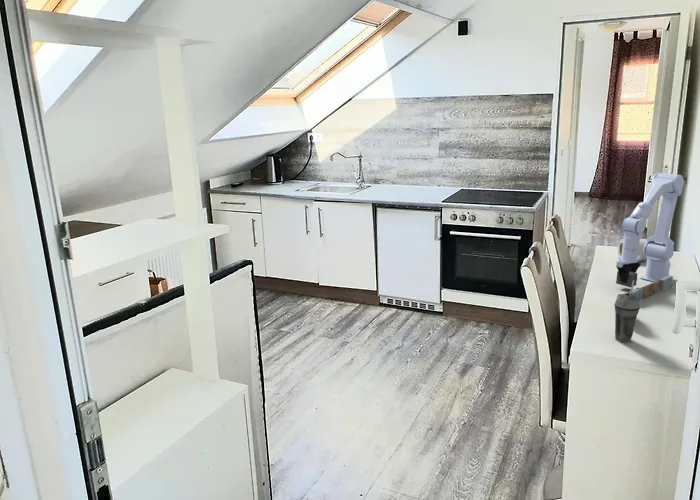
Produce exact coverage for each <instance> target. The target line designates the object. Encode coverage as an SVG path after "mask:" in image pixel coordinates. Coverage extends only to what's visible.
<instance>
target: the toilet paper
mask: <svg viewBox="0 0 700 500" xmlns="http://www.w3.org/2000/svg"><path fill="white" fill-rule="evenodd" d="M646 241H647V238H640V242H639V251H638V255H639V256H641V261H642V262H643V261H647V258H646V255H645V254H644V252H643V248H644V245H645V244H646ZM617 247H618V248H617V255H618V257H620V256H621V255H622V247H623V238H620V240H619V241H618V246H617ZM641 261H640V262H641Z"/></svg>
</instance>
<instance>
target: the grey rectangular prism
mask: <svg viewBox="0 0 700 500" xmlns="http://www.w3.org/2000/svg"><path fill="white" fill-rule="evenodd" d="M638 274H639V273H638V272H636V273H634V272H630V273H629V275H628V280H627V282H626V283H623V282H621V281H620V276H619V272H618V271H617V273H616V282H615V284H617V285H621V286H624V287H627V288H631V286H632V282H633V280H634V281H635V282H634V286H633V287H635V286H637V281H638Z"/></svg>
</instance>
